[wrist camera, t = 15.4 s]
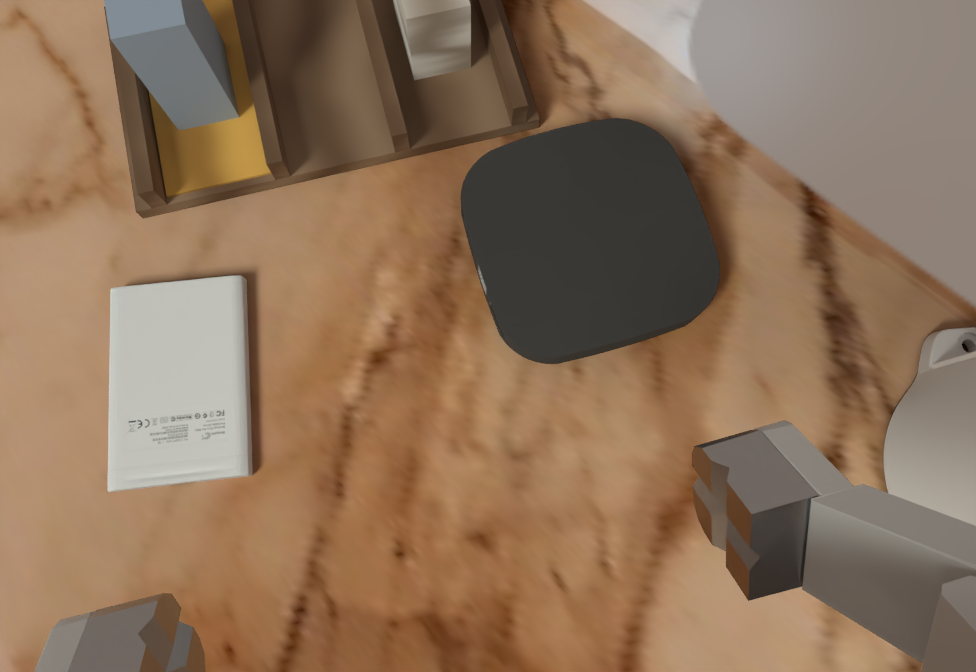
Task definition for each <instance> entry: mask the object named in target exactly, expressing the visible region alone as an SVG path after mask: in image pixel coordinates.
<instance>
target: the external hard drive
mask: <svg viewBox="0 0 976 672" xmlns="http://www.w3.org/2000/svg"><path fill="white" fill-rule="evenodd" d="M252 475H253V467H252V432H251V398H250V368H249V333H248V305H247V280H246V279H245V278H244V277H243V276H241V275H232V276H222V277H212V278H202V279H193V280H183V281H173V282H162V283H153V284H143V285H133V286H123V287H115V288H112V289H111V297H110V366H109V436H108V489H107V490H108V492H116V491H124V490H133V489H141V488H150V487H159V486H167V485H173V484H181V483H189V482H202V481H211V480H220V479H228V478H237V477H246V476H252Z"/></svg>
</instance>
